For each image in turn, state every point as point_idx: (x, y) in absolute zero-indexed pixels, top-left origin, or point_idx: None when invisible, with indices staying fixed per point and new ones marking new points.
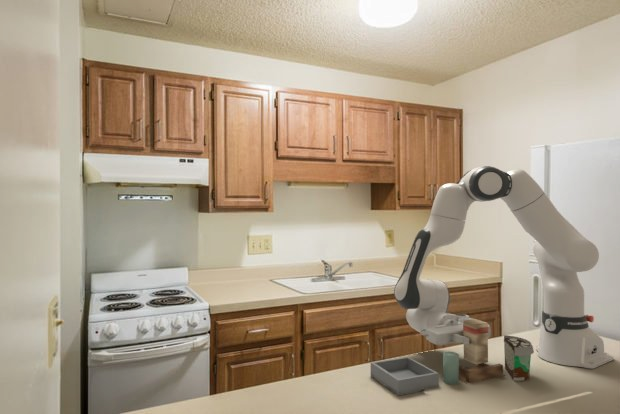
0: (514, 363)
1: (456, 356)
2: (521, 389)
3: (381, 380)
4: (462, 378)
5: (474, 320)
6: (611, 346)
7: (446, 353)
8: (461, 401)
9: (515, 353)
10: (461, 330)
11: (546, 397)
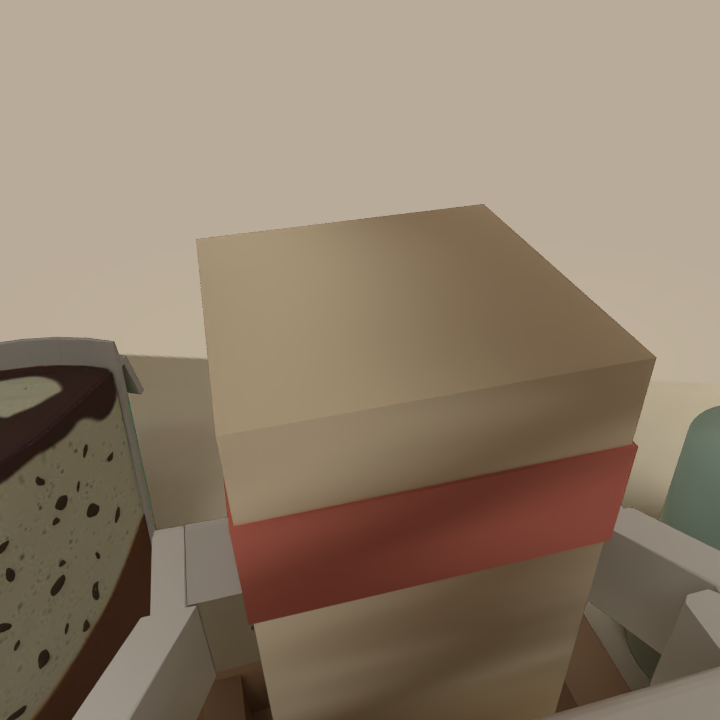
0: (141, 470)
1: (716, 408)
2: (202, 515)
3: None
4: (577, 685)
5: (353, 338)
6: None
7: None
8: (649, 428)
9: (133, 375)
10: (617, 697)
11: (156, 430)
